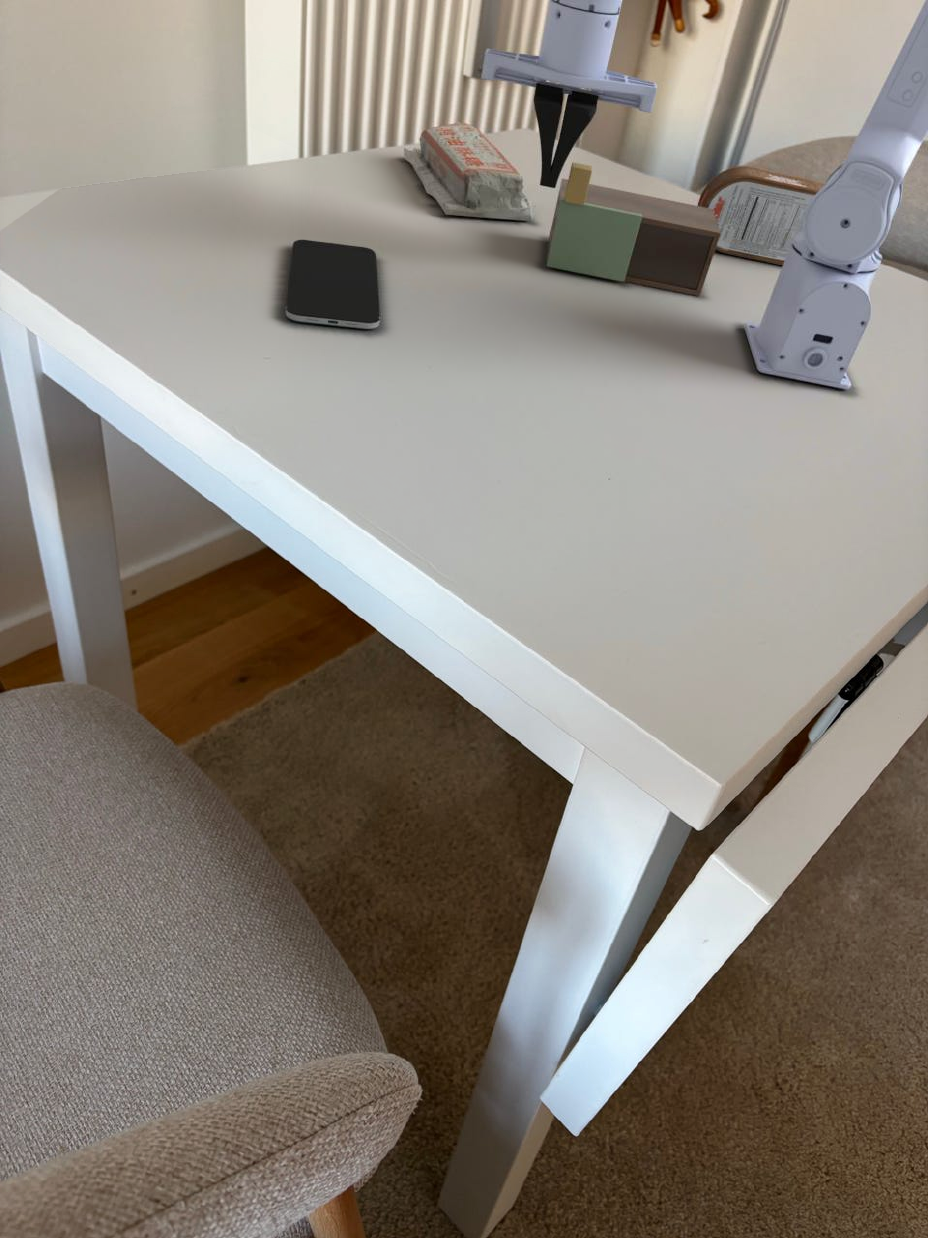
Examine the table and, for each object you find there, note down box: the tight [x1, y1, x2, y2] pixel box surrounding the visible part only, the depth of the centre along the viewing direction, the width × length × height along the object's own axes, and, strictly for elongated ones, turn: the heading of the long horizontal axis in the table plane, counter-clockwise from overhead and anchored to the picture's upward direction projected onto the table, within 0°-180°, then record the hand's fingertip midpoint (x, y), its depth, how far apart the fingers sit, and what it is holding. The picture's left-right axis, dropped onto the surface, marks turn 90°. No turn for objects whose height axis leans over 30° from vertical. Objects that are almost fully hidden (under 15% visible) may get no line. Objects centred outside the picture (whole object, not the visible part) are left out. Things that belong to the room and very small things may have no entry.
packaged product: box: [403, 122, 536, 222], centre depth 100 cm, size 18×5×10 cm
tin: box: [696, 165, 825, 266], centre depth 97 cm, size 15×3×8 cm, turn 84°
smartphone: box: [285, 239, 381, 330], centre depth 77 cm, size 7×1×15 cm
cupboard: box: [545, 178, 721, 297], centre depth 90 cm, size 7×15×6 cm, turn 84°
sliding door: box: [546, 161, 642, 283], centre depth 85 cm, size 1×8×9 cm, turn 84°
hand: (547, 183), depth 83 cm, fingers closed
